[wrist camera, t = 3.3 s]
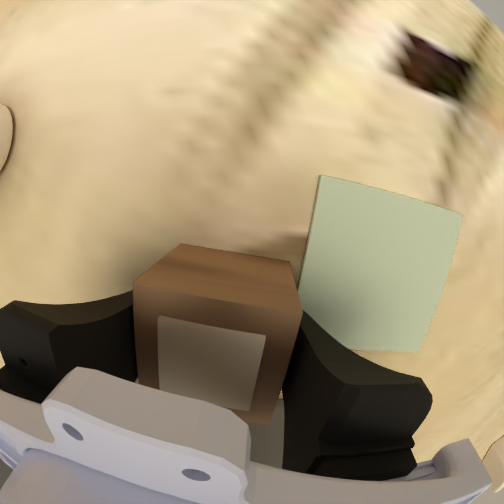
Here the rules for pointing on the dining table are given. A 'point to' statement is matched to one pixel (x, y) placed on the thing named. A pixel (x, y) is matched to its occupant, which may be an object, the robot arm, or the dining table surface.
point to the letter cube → (217, 328)
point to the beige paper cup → (5, 133)
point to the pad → (375, 265)
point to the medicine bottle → (495, 464)
